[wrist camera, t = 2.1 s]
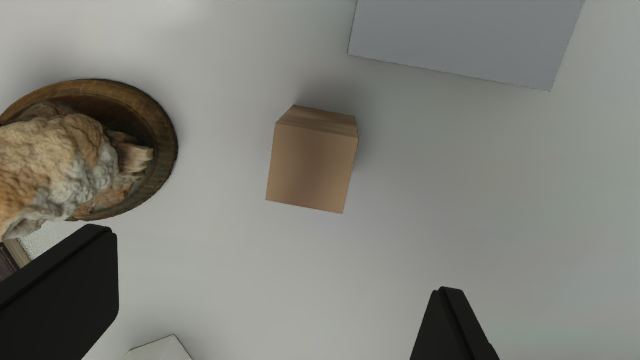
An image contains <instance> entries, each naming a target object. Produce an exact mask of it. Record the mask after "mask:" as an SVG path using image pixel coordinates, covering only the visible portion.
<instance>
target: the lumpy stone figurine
mask: <svg viewBox="0 0 640 360" xmlns="http://www.w3.org/2000/svg"><path fill="white" fill-rule="evenodd" d="M177 148H178V146H177V139H176V137H175V133H174V131H173V126H172V124H171V122H170V120H169V118H168V115H167V114H166V113H165V112H164V110H163V108H161V106H159V105H158V103H157V102H155V101H154V100H153V99H152V98H151V97H150V96H149V95H147V94H146V93H144V92H142V91H140V90H139V89H137V88H135V87H133V86H129V85H127V84H123V83H120V82H115V81H110V80H105V79H103V80H102V79H81V80H79V79H78V80H72V81H71V80H70V81H65V82H60V83H56V84H52V85H49V86H46V87H43V88H41V89H39V90H36V91H34V92H32V93H30V94H28V95H26V96H24V97H22V98H21V99H19V100H17V101H16V102H14V103H13V104H12V105H10V106H9V107H8V108H7V109H6V110H5V111H4V112H3V113H2V114H1V116H0V242H3V241H4V240H6V239H10V238H18V237H24V236H27V235H29V234H31V233H32V232H34V231H37V230H39V229H40V228H41V224H43V223H44V222H45V221H46V220H47V221H53V222H55V221H78V220H84V221H93V220H100V219H105V218H109V217H113V216H116V215H120V214H122V213H125V212H127V211H129V210H131V209H133V208H135V207H137V206H139V205H141V204H142V203H143V202H145V201H146V200H148V199H149V198H151V196H152V195H154V194H155V193H156V192H157V191H158V190H159V189H160V188H161V186H162V185H163V183H164V182H165V181H166V180H167V179H168V178H169V175H171V173H170V172H171V169H172V165H173V163H174V161H175V160H176V157H177Z"/></svg>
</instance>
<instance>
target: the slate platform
mask: <svg viewBox="0 0 640 360" xmlns="http://www.w3.org/2000/svg"><path fill="white" fill-rule="evenodd" d="M584 1H585V0H357V3H356V9H355V14H354V19H353V25H352V30H351V36H350V41H349V46H348V52H347V54H348V55H353V56H358V57H364V58H369V59H375V60H380V61H386V62H391V63H397V64H402V65H407V66H413V67H418V68H424V69H429V70H435V71H440V72H446V73H451V74H456V75H462V76H467V77H473V78H478V79H484V80H489V81H495V82H500V83H505V84H511V85H516V86H522V87H527V88H533V89H538V90H544V91H549V92H550V90H551V87H552V85H553V82H554V80H555V77H556V74H557V72H558V69H559V66H560V64H561V61H562V59H563V56H564V53H565V51H566V48H567V45H568V43H569V40H570V38H571V35H572V32H573V30H574V27H575V24H576V22H577V19H578V17H579V14H580V11H581V9H582V6H583V4H584Z"/></svg>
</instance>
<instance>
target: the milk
mask: <svg viewBox="0 0 640 360" xmlns="http://www.w3.org/2000/svg"><path fill="white" fill-rule="evenodd" d="M122 360H192V359H191V357H190V356H189V355H188V353H187V352H186V351H185V349H184V348H183V346H182V345H181V344H180V342H179V341H178V339H177V338H176V337H175V335H171V336H168V337H166V338H163V339H160V340H157V341H155V342H152V343H149V344H147V345H144V346H141V347H138V348H136V349H133V350H130V351H128V352H127V354H126V355H125V356H124V358H123V359H122Z"/></svg>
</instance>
